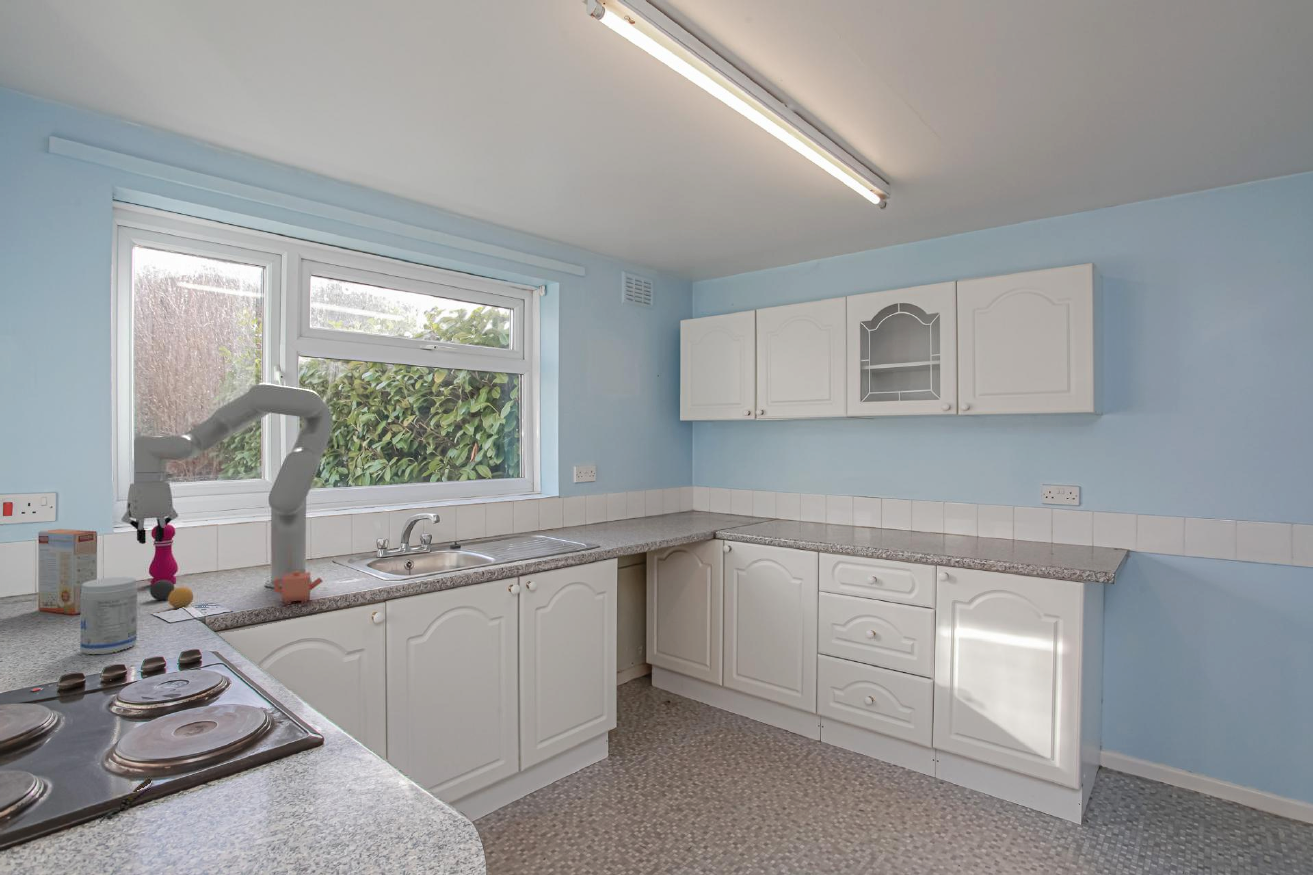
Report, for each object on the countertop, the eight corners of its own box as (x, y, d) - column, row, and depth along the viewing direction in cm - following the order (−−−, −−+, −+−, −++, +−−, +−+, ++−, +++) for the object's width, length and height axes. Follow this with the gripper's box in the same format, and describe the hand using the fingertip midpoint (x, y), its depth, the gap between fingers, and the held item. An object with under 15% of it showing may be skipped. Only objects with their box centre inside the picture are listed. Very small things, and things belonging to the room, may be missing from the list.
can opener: (145, 786, 91) (145, 778, 91) (163, 786, 92) (162, 777, 92) (92, 826, 82) (92, 816, 82) (112, 825, 83) (112, 816, 83)
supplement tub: (76, 649, 147) (75, 581, 147) (130, 639, 154) (130, 574, 154) (86, 659, 141) (86, 588, 141) (142, 648, 148) (142, 580, 148)
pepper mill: (183, 581, 213) (183, 517, 213) (164, 587, 206) (164, 520, 205) (162, 581, 214) (162, 517, 213) (142, 586, 206) (142, 520, 206)
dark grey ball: (177, 599, 191) (177, 579, 191) (153, 603, 186) (153, 583, 186) (170, 596, 194) (170, 577, 194) (147, 600, 190) (147, 580, 190)
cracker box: (99, 610, 179) (98, 530, 179) (72, 615, 174) (72, 533, 174) (63, 605, 184) (63, 527, 184) (37, 611, 178) (36, 530, 178)
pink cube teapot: (322, 602, 189) (322, 572, 189) (273, 606, 184) (273, 576, 184) (322, 595, 196) (322, 567, 196) (275, 600, 191) (275, 570, 191)
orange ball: (196, 607, 182) (196, 586, 182) (172, 611, 178) (172, 590, 178) (188, 604, 186) (188, 584, 186) (165, 608, 181) (164, 587, 181)
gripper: (179, 476, 205) (179, 537, 205) (110, 479, 192) (110, 544, 192) (188, 477, 200) (188, 540, 200) (119, 480, 187) (119, 547, 187)
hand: (150, 541), depth 196 cm, fingers open, 3 cm apart
